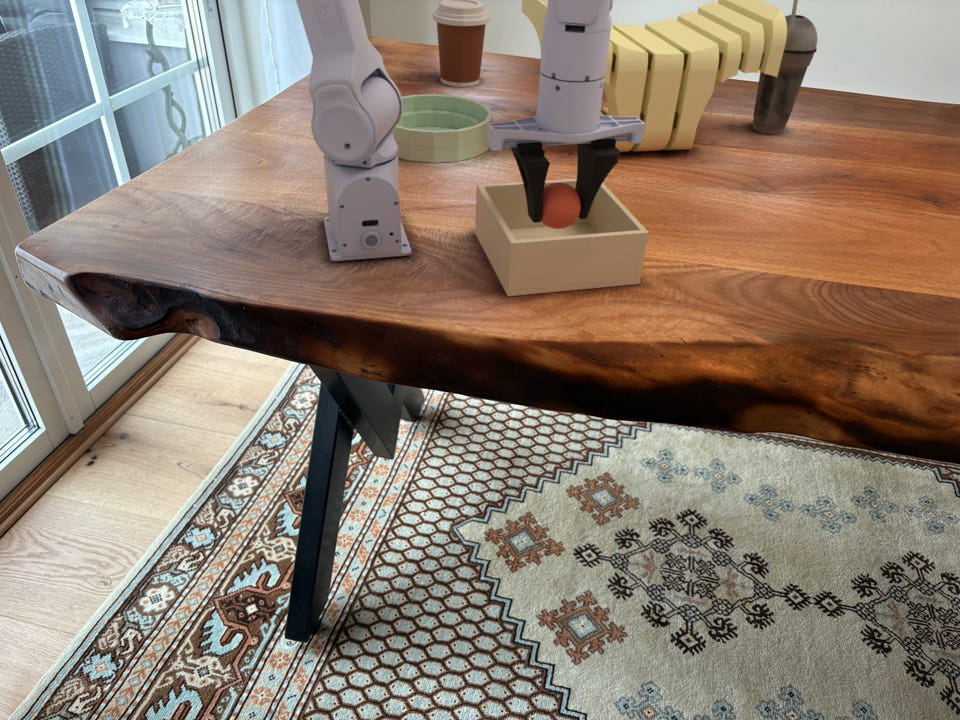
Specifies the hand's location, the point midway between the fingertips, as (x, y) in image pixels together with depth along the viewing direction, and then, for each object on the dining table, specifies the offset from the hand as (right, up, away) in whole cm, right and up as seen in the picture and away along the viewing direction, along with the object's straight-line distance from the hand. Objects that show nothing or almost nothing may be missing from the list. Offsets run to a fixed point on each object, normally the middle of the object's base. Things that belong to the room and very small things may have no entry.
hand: (557, 216), depth 75 cm
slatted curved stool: (+14, +17, +33) cm, 39 cm away
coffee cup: (-11, +32, +52) cm, 62 cm away
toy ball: (0, -1, +1) cm, 1 cm away
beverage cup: (+35, +20, +38) cm, 55 cm away
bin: (0, -4, +3) cm, 4 cm away
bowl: (-14, +15, +27) cm, 34 cm away
